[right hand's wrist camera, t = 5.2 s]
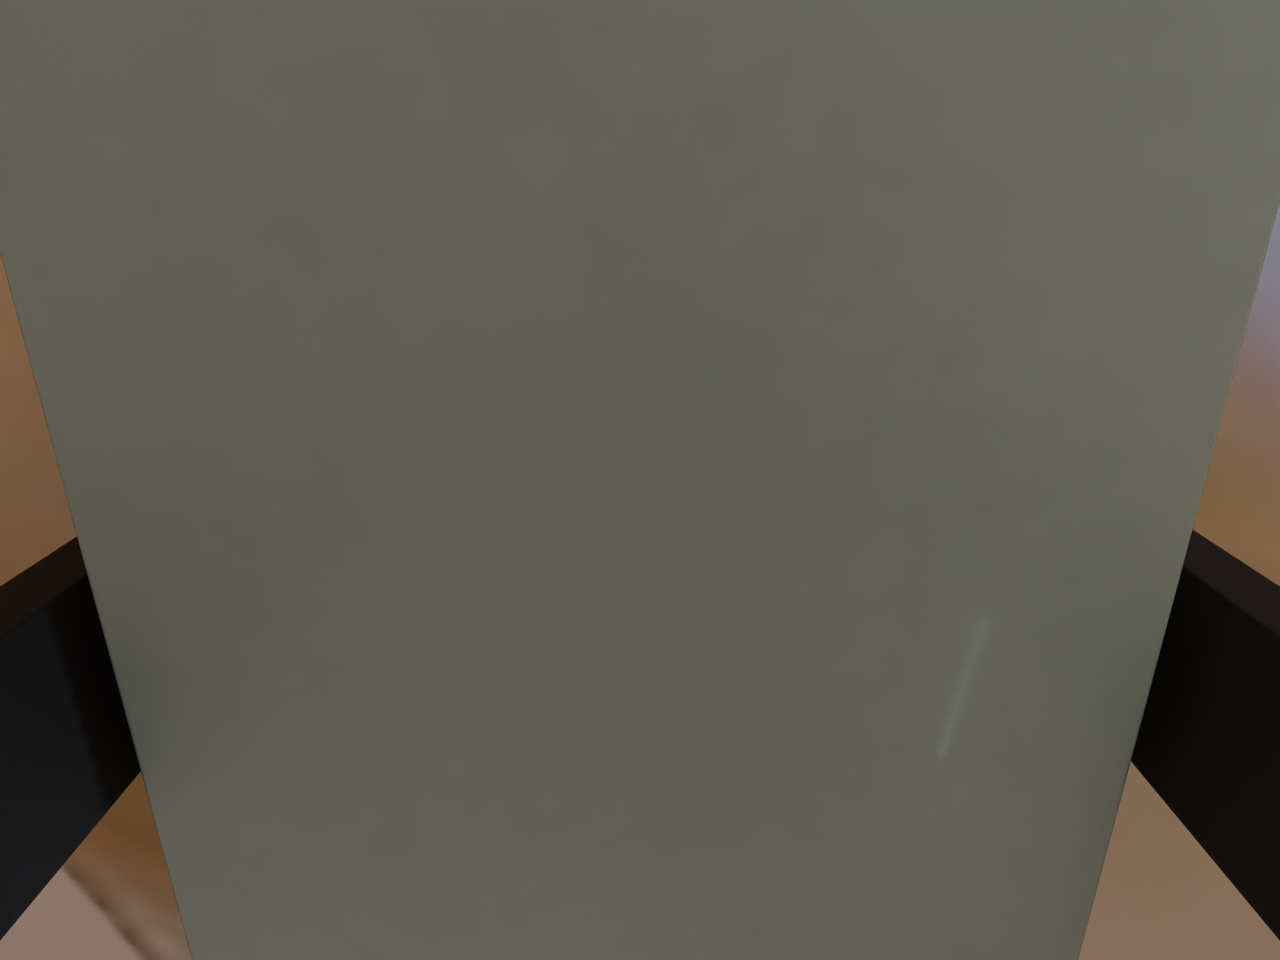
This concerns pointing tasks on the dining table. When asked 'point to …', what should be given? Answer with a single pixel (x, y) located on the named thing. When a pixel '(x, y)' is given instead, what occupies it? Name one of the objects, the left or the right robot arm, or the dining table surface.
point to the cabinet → (635, 448)
